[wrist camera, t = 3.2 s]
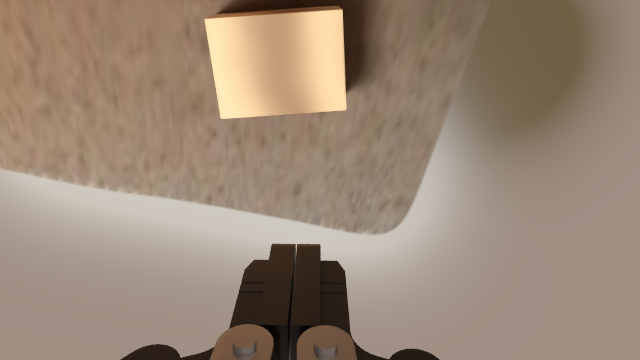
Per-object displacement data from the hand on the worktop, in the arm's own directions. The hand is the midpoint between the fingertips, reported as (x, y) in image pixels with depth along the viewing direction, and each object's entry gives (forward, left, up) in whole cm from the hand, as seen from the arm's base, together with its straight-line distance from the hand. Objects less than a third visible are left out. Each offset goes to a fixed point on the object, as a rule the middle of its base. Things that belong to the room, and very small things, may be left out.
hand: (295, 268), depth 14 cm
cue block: (-1, +3, -20) cm, 20 cm away
